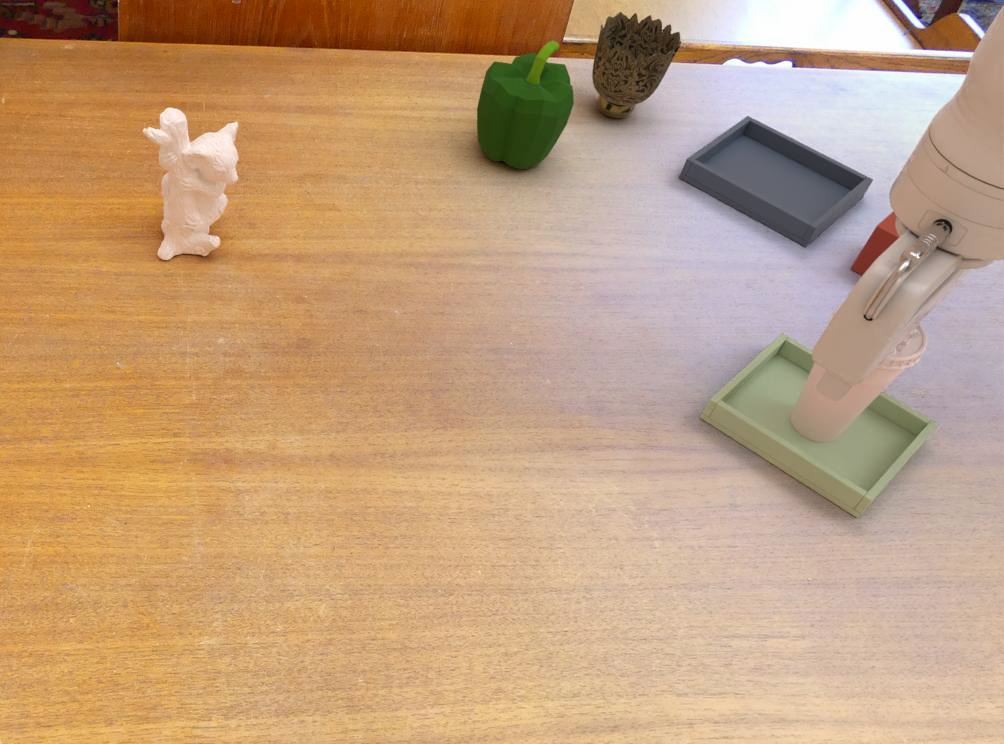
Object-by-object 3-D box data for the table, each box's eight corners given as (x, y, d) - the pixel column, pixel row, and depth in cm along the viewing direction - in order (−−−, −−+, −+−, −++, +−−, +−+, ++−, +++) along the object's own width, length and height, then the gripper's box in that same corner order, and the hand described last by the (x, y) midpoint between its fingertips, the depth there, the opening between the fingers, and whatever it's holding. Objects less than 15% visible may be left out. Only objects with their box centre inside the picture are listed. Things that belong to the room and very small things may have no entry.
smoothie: (798, 382, 87) (893, 233, 76) (872, 428, 84) (982, 281, 73) (756, 421, 84) (849, 272, 73) (832, 469, 81) (940, 323, 70)
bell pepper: (503, 189, 100) (534, 86, 92) (450, 141, 104) (475, 37, 96) (574, 167, 103) (610, 64, 95) (520, 120, 107) (549, 18, 99)
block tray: (862, 198, 103) (873, 179, 102) (805, 247, 98) (816, 228, 97) (739, 134, 108) (747, 115, 107) (678, 177, 103) (686, 158, 102)
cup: (595, 81, 112) (622, 2, 106) (662, 109, 110) (694, 30, 104) (563, 112, 109) (588, 32, 102) (632, 141, 106) (662, 62, 100)
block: (920, 272, 97) (949, 230, 94) (897, 294, 95) (926, 252, 92) (872, 247, 99) (900, 204, 95) (849, 268, 97) (876, 225, 93)
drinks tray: (924, 442, 85) (939, 424, 83) (857, 518, 79) (872, 500, 78) (771, 351, 90) (782, 332, 88) (699, 417, 84) (709, 399, 83)
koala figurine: (159, 278, 90) (159, 145, 80) (125, 229, 93) (121, 96, 83) (251, 252, 92) (263, 121, 83) (215, 206, 96) (222, 75, 86)
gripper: (954, 292, 62) (833, 458, 73) (1087, 154, 71) (962, 320, 82) (850, 237, 64) (749, 405, 75) (992, 110, 73) (883, 277, 85)
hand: (861, 360), depth 79 cm, fingers open, 8 cm apart
